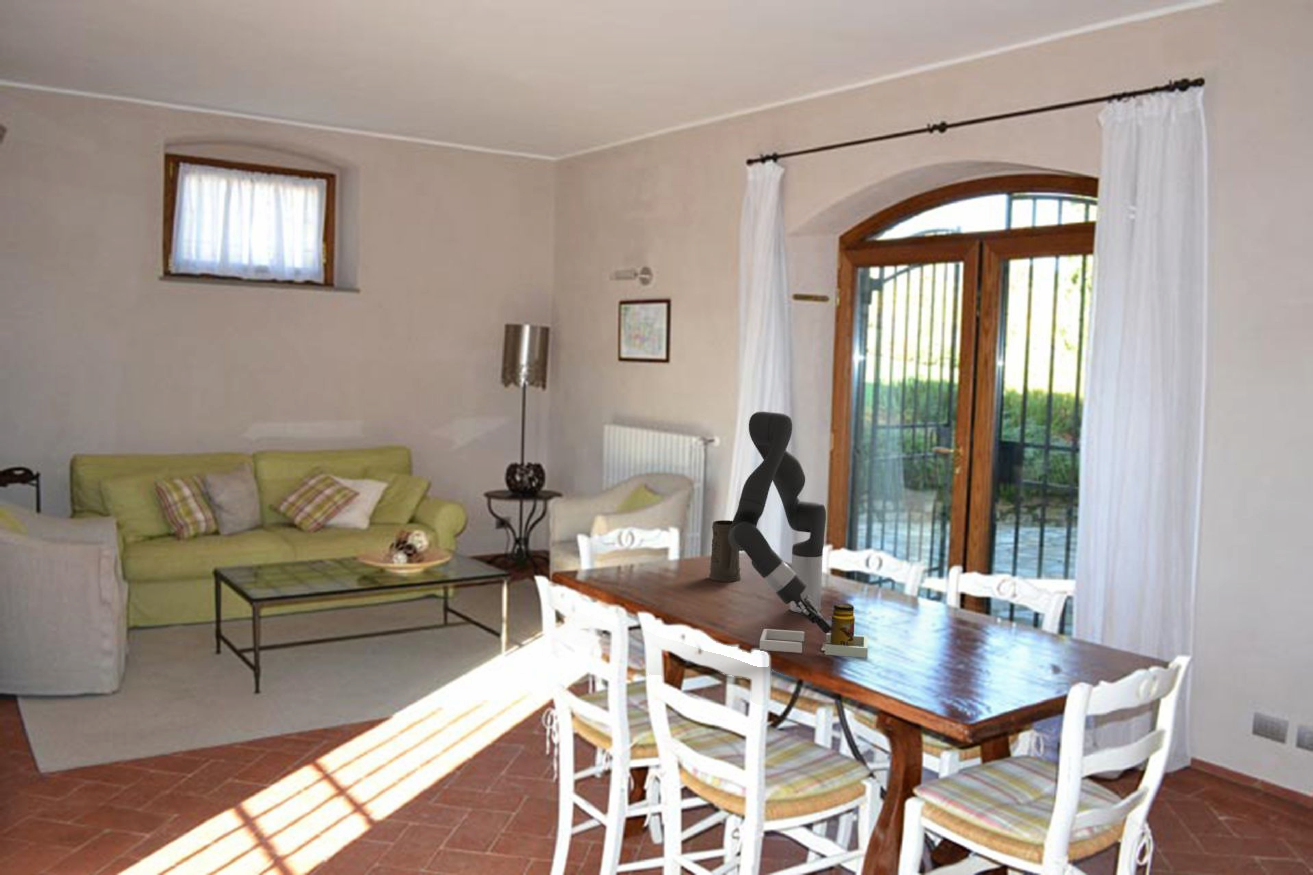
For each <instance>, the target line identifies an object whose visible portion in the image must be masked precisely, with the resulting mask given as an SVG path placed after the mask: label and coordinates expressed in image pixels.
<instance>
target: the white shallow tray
mask: <svg viewBox="0 0 1313 875" xmlns="http://www.w3.org/2000/svg"><path fill="white" fill-rule="evenodd" d="M825 635H826V638H825V639H826V640H825V643H831V633H829V632H828V633H827V634H826V633H825ZM868 639H869V637H868V635H856V634H854V641H853V646H843V645H830V644H825V650H824V655H825V656H826V655H827V656H840V657H852V658H853V657H855V658H863V659H864V658H865V659H866V658H868V657H869V656H868V655H869V648H868V647H869V644H868V643H869V642H868V641H869V640H868Z"/></svg>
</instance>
